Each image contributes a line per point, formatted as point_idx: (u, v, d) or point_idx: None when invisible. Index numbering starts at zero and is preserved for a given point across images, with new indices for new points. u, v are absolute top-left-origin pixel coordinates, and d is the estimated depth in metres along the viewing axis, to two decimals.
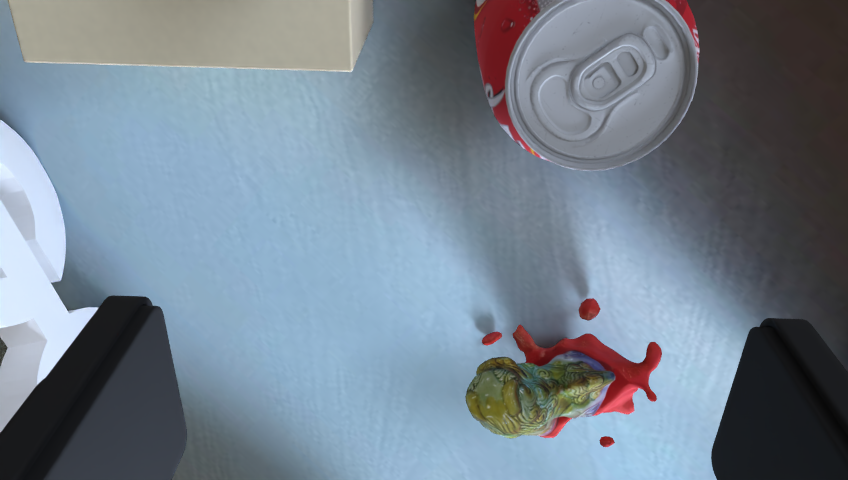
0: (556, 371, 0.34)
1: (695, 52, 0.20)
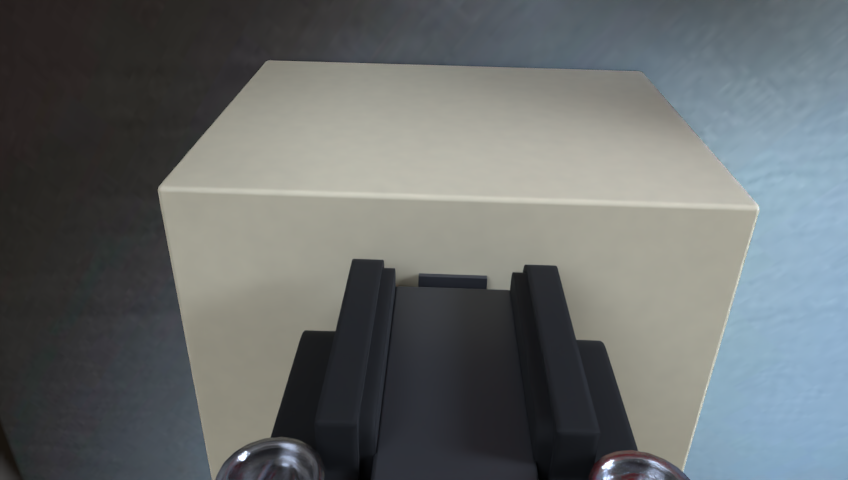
0: None
1: None
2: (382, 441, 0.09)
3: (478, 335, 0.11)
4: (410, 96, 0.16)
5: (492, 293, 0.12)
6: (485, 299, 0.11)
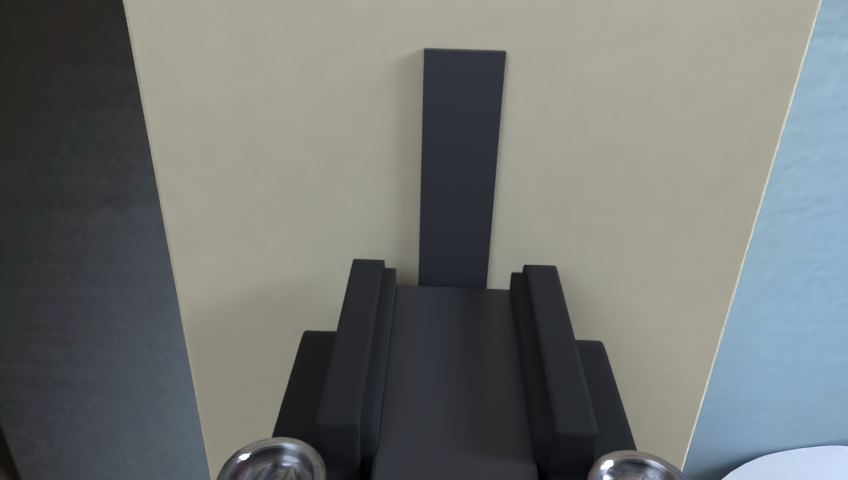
0: None
1: None
2: (382, 440, 0.09)
3: (478, 334, 0.11)
4: None
5: (492, 293, 0.12)
6: (485, 299, 0.11)
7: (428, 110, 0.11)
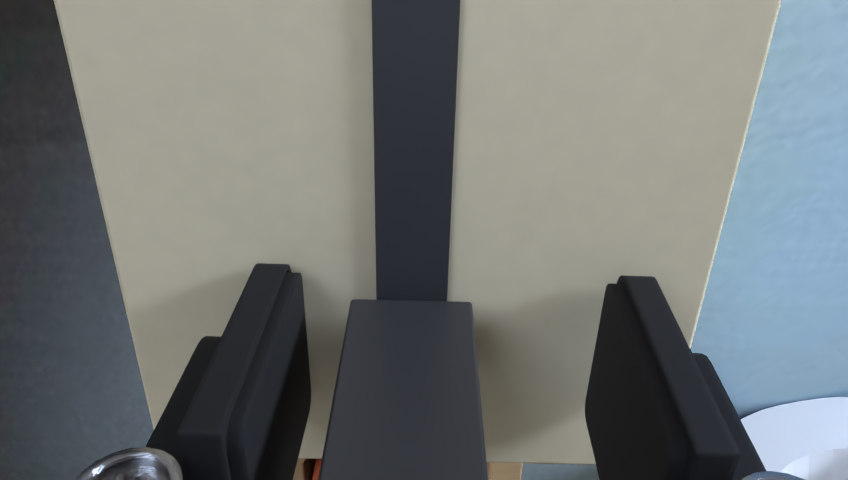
0: None
1: None
2: (327, 466, 0.08)
3: (434, 350, 0.10)
4: None
5: (451, 306, 0.11)
6: (444, 312, 0.11)
7: None
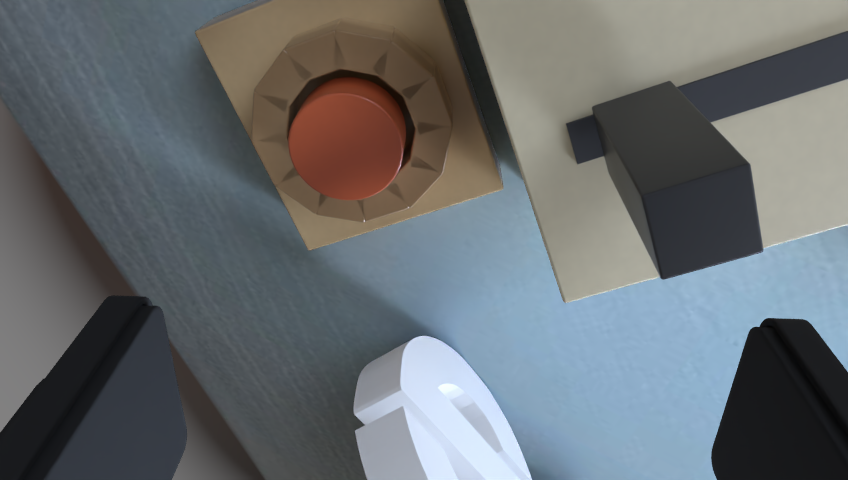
0: None
1: None
2: (722, 135, 0.14)
3: None
4: None
5: None
6: None
7: None
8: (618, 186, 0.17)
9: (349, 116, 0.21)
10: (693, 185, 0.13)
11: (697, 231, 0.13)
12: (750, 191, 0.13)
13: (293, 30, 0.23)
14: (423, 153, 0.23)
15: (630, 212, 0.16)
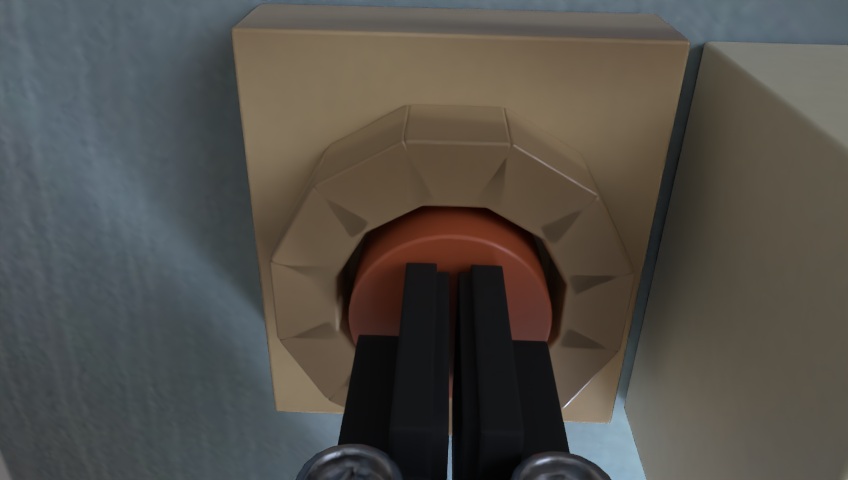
0: None
1: None
2: None
3: None
4: None
5: None
6: None
7: None
8: None
9: None
10: None
11: None
12: None
13: (411, 94, 0.12)
14: None
15: None
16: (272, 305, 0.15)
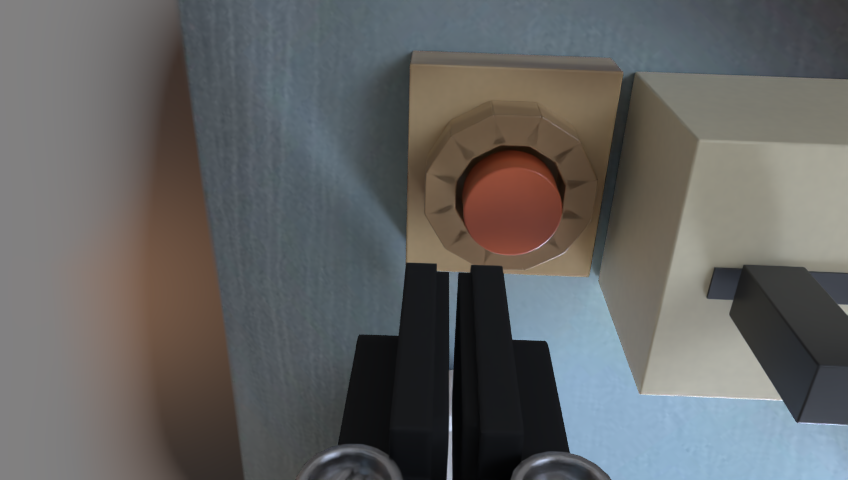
0: None
1: None
2: None
3: None
4: None
5: None
6: None
7: None
8: (751, 333, 0.22)
9: (530, 190, 0.25)
10: None
11: (838, 399, 0.18)
12: None
13: (492, 95, 0.26)
14: (557, 233, 0.27)
15: (764, 359, 0.21)
16: (412, 205, 0.29)
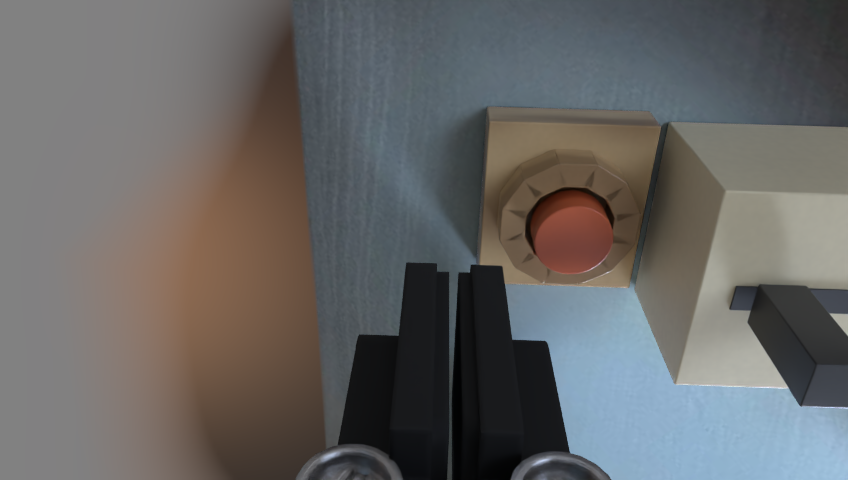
0: None
1: None
2: None
3: None
4: None
5: None
6: None
7: None
8: (765, 338, 0.28)
9: (588, 223, 0.31)
10: (842, 367, 0.24)
11: (831, 389, 0.25)
12: None
13: (554, 145, 0.33)
14: (607, 255, 0.33)
15: (775, 358, 0.27)
16: (485, 231, 0.35)
